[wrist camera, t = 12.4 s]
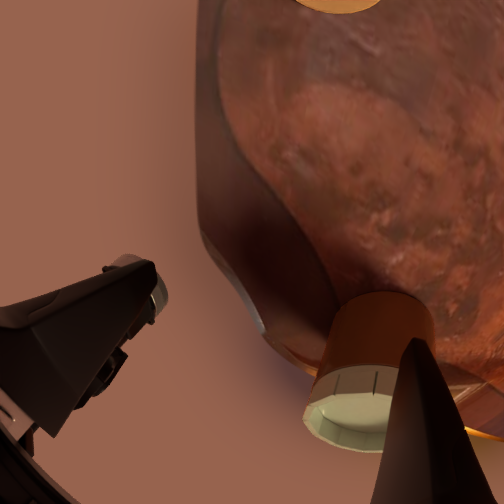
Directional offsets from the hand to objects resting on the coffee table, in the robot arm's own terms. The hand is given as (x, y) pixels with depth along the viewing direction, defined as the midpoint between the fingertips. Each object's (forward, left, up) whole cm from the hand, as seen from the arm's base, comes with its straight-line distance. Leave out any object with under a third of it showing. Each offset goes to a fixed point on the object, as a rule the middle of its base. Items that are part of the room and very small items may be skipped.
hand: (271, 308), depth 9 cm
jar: (+7, -12, -12) cm, 18 cm away
